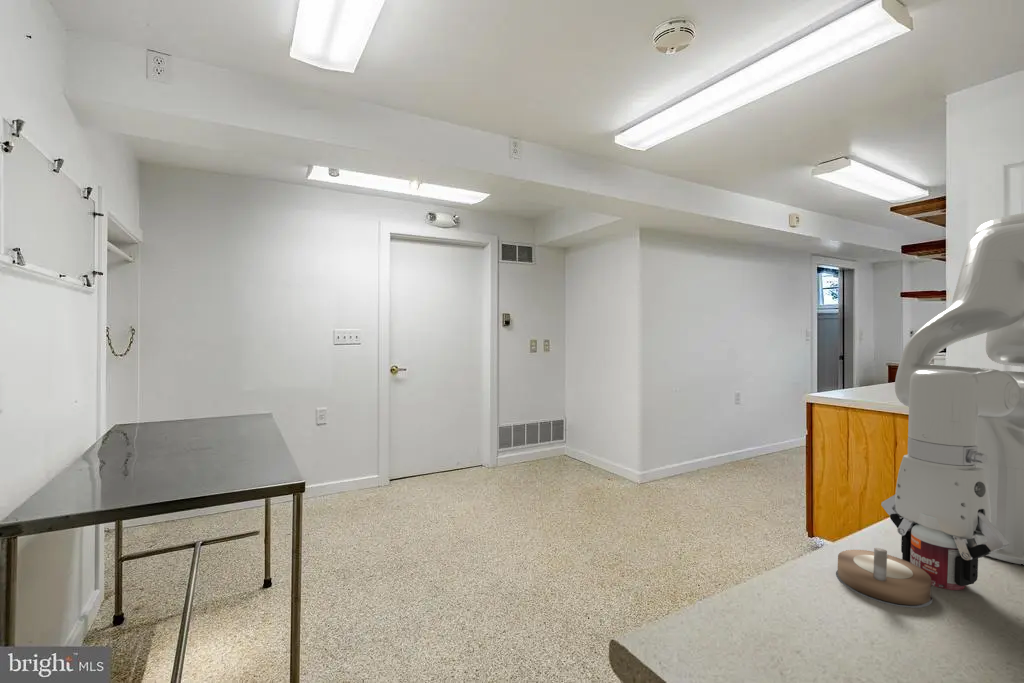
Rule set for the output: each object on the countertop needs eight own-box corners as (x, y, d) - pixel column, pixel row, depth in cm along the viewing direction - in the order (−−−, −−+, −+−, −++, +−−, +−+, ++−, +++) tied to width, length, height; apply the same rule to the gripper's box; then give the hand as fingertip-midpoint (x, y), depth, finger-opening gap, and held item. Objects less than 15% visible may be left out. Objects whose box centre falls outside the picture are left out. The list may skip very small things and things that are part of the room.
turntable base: (870, 571, 75) (870, 561, 75) (952, 610, 65) (952, 599, 65) (817, 581, 72) (818, 571, 72) (895, 624, 61) (895, 613, 61)
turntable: (842, 558, 76) (843, 518, 76) (930, 582, 69) (932, 538, 68) (832, 584, 68) (833, 540, 68) (930, 614, 61) (932, 565, 61)
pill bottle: (899, 580, 72) (901, 507, 72) (929, 575, 74) (931, 504, 74) (944, 602, 67) (946, 523, 66) (976, 597, 68) (978, 519, 68)
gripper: (1035, 467, 63) (1030, 599, 63) (896, 438, 79) (892, 543, 80) (999, 471, 60) (994, 609, 61) (863, 441, 77) (860, 549, 77)
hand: (936, 570), depth 70 cm, fingers closed on pill bottle, 6 cm apart
